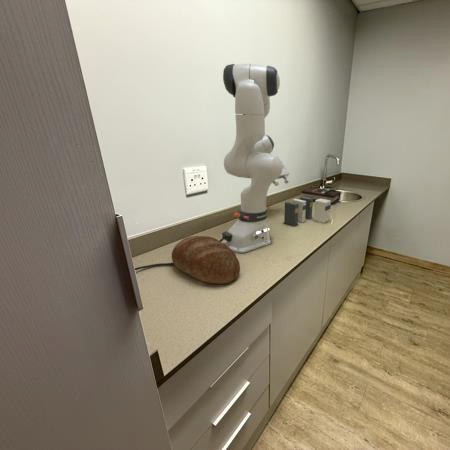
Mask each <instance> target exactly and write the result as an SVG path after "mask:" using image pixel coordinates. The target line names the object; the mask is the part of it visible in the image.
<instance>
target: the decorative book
mask: <svg viewBox="0 0 450 450" xmlns="http://www.w3.org/2000/svg"><path fill="white" fill-rule="evenodd" d="M341 194H342V191H340V190H337V189H325V188H319V187H314V186H313V187H312V186H311V187H310V186H309V187H308V188H305V189H303V190H301V196H302V197H308V198H313V203H315V200H318V199H320V198H321V199H325V200H330V201H331V206H334V205H335V204H336V203H339V202H340V201H341V199H342V197H341Z"/></svg>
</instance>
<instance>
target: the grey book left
mask: <svg viewBox="0 0 450 450" xmlns="http://www.w3.org/2000/svg"><path fill="white" fill-rule="evenodd" d="M298 205H299V204H298V203H293V201H285V202H284V213H283V214H284V218H283V223H284V224H285V225H289V226H293V227H296V226H298V223H299V222H298V211H299V208H298Z"/></svg>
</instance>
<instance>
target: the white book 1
mask: <svg viewBox="0 0 450 450" xmlns="http://www.w3.org/2000/svg"><path fill="white" fill-rule="evenodd" d="M292 202H293V203H298V204H299V205H298V208H299V211H298V223H304V222H306V218H305V212H306V201H304V200H300V198H299V199H298V198H294V199H292Z"/></svg>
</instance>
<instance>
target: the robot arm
mask: <svg viewBox="0 0 450 450" xmlns="http://www.w3.org/2000/svg"><path fill="white" fill-rule="evenodd" d="M222 82H223V85H224V88H225V90H226V92H227V93H228V94H230V95H231V96H232V97H233V98H234V113H235V116H234V117H235V134H236V135H235V139H234V143H233V146H232V148H231V149H230V150H229V151H228V152H227V153H226V155H225V156H224V158H223V167H224V171H225V172H226V174H228V175H231V176H233V177H237V178H244V179H250V180H251V181H250V185H249V186H246V187H245V188H244V189H243V190H242V191H241V193H240V210H239V212H237V211H235V212H234V213H233V217H235V218H237V220H236V221H235V222H234V224H233V225H232V226H231V227H230V228H229V229H228V230H227V231H222V232H221V234H222V237H221V239H220V240H219V241H220V242H222V243H224V244H226V245H227V246H228V247H229V248H230V249H231V250H232V251H233V252H234V253H238V254H244V253H247V252H251V251H253V250H257V249H260V248H263V247H265V246H268V245H271V243H272V241H271V237H270V232H269V231H270V228H269V225H268V220H267V219H268V209H267V199H268V198H267V196H268V191H269V188H270V187H271V185H272V184H273V185H274V186H275V187H277V186H279V185H280V184H279V182H278V181H276V180H279V179H283V180H284V181H283V182H284V184H286V185H287V184H289V183H290V181H289V179H288V176H290V172H289V169H288V168H287V167H286V165H285V164H283V160H281V158H280V157H279V156H278V155H275V154H273V153H272V152H273V150H274V147H275V143H274V141H273V139H272V137H271V136H270V135H269V134H266V125H265V124H266V122H265V119H266V118H267V116H268V115H269V113H270V109H271V101H270V97H273V96H276V95H277V94H278V93H279V89H280V86H281V79H280V75H279V73H278V70H277V69H276V67H274V66H272V65H261V64H252V63H238V64H234V63H231V64H226V65H225V67H224V68H223V72H222ZM157 266H158V267H159V266H175V265H174V263H173V262H166V263H165V262H164V263H160V262H159V263H153V264H147V265H143V266H138V267H135V268H134V269H135V270H136V271H138V270H141V269H146V268H147V269H148V268H152V267H157Z"/></svg>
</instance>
